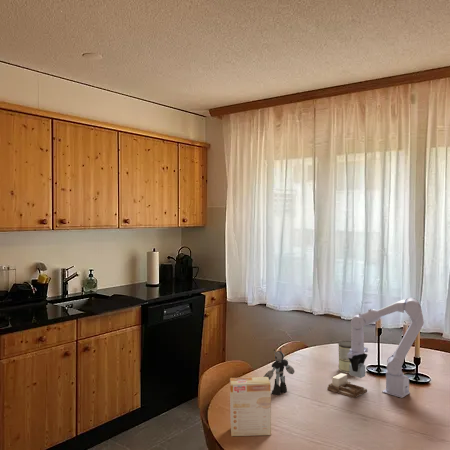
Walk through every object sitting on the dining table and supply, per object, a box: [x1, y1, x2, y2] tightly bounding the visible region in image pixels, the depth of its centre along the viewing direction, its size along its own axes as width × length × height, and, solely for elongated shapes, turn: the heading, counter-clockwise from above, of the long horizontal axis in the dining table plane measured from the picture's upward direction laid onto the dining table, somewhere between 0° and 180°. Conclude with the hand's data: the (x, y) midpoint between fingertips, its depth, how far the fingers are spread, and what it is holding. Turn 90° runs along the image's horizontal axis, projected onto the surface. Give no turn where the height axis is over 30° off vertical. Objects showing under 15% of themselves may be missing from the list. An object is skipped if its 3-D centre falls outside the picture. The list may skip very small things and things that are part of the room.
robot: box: [263, 347, 295, 396], centre depth 206 cm, size 20×5×20 cm, turn 128°
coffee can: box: [337, 340, 351, 374], centre depth 235 cm, size 10×10×14 cm
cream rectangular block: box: [331, 372, 348, 387], centre depth 211 cm, size 3×8×5 cm, turn 135°
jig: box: [327, 380, 368, 399], centre depth 207 cm, size 14×11×2 cm
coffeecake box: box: [229, 376, 272, 437], centre depth 168 cm, size 15×7×20 cm, turn 92°
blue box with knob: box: [348, 363, 366, 379], centre depth 210 cm, size 6×4×6 cm, turn 42°
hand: (357, 370), depth 210 cm, fingers closed on blue box with knob, 4 cm apart
